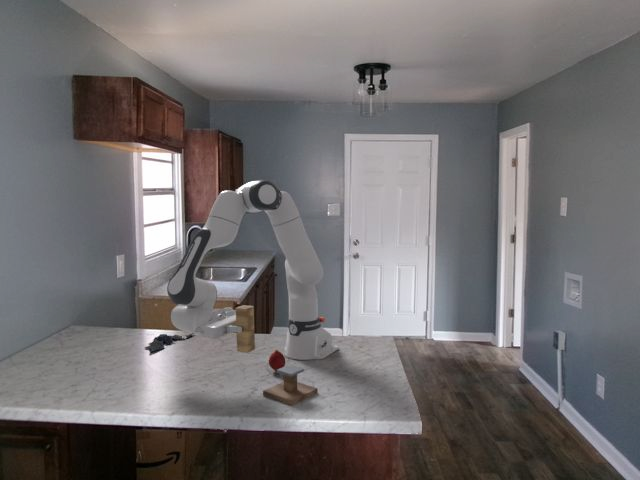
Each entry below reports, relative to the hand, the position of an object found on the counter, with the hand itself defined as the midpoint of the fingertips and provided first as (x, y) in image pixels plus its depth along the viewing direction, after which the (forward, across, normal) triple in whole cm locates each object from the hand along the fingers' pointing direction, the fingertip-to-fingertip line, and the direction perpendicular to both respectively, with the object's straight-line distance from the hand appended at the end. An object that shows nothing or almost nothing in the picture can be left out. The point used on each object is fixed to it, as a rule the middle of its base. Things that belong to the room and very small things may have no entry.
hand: (247, 327), depth 167 cm
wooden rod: (-1, 0, +8) cm, 8 cm away
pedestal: (+14, +3, +20) cm, 25 cm away
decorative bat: (-60, +24, +21) cm, 68 cm away
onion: (-1, +18, +21) cm, 27 cm away
